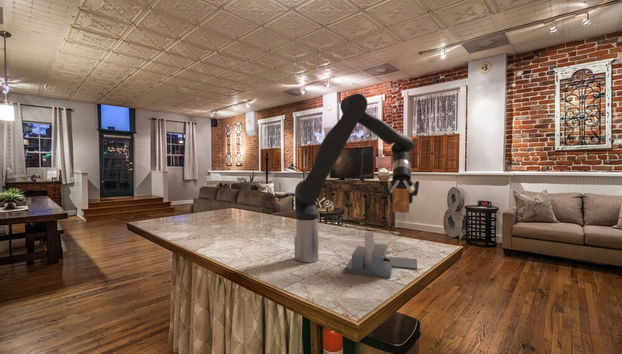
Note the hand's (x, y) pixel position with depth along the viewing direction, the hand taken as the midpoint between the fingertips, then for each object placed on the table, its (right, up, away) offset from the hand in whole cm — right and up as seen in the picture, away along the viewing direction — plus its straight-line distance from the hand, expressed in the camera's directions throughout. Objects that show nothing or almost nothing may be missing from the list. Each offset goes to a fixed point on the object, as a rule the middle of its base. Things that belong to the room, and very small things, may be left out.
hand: (401, 202), depth 114 cm
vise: (-13, -25, -6) cm, 29 cm away
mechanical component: (-3, -25, +20) cm, 32 cm away
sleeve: (+1, -4, +2) cm, 4 cm away
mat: (+1, -25, +2) cm, 25 cm away
